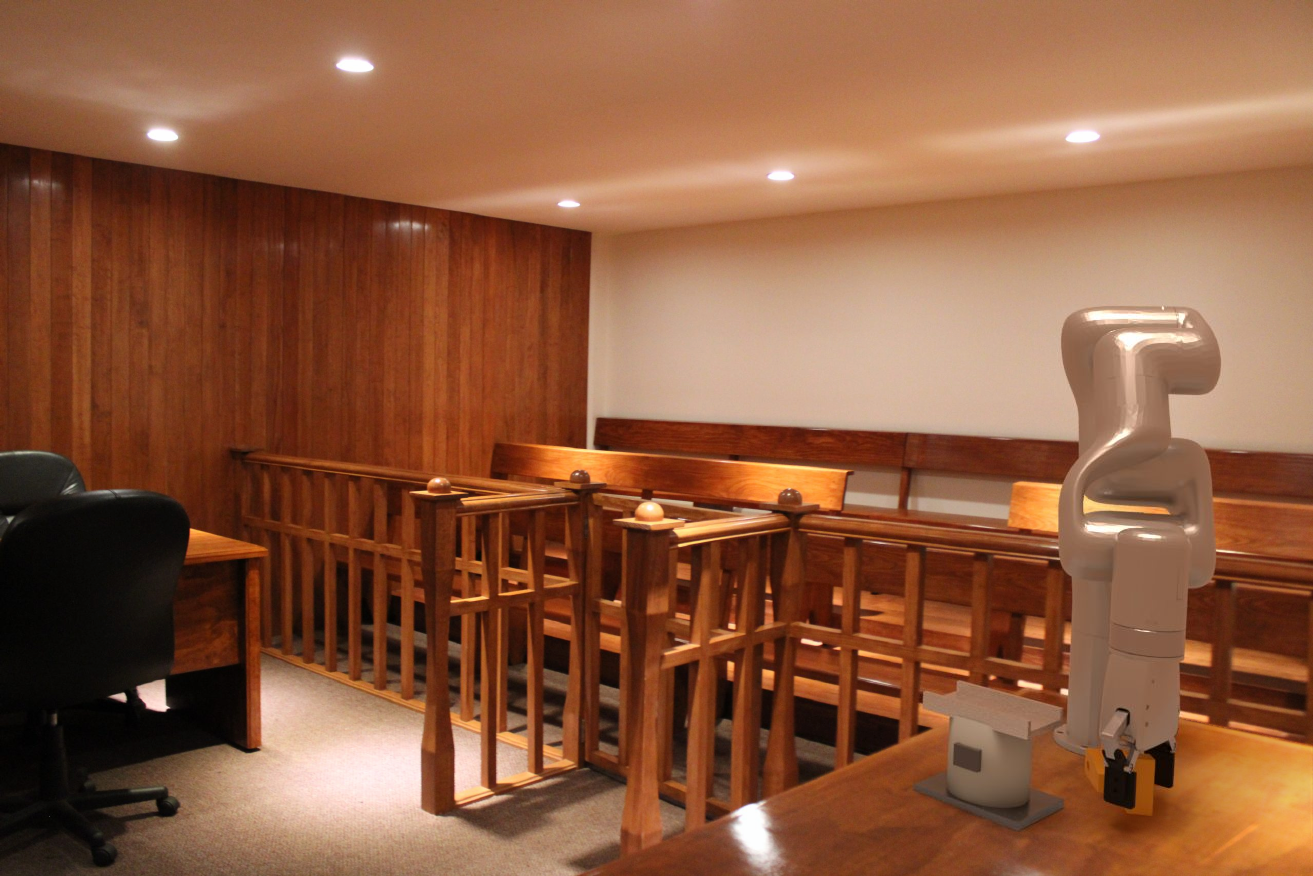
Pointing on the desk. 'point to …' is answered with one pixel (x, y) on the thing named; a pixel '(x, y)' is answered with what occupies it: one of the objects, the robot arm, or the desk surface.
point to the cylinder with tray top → (992, 754)
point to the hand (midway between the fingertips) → (1138, 794)
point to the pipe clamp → (1142, 767)
